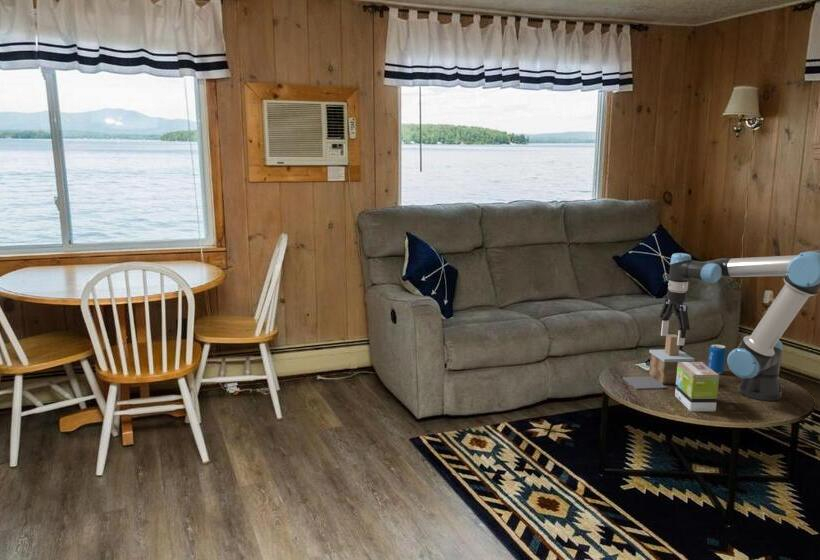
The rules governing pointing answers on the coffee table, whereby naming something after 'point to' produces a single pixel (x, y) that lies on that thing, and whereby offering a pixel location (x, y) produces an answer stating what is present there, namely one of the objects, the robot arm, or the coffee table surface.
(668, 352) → the lid
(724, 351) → the beverage can
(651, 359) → the box
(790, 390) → the coffee table surface
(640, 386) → the mat
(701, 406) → the tea box
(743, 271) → the robot arm
